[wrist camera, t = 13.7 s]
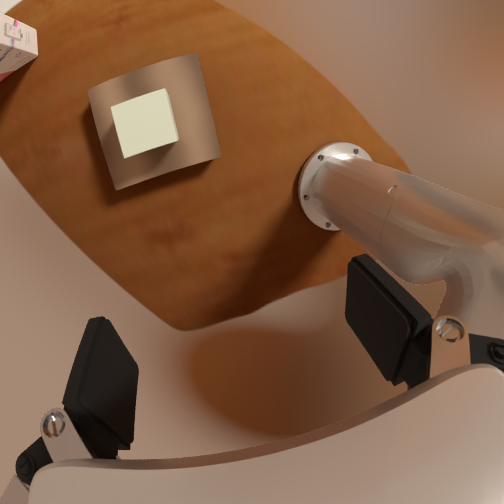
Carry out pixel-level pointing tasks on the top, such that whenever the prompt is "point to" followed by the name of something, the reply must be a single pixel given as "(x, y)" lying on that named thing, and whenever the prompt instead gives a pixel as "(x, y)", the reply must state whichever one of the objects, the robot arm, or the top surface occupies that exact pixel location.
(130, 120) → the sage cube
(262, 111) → the top surface
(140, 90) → the walnut block
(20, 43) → the ink cartridge box
